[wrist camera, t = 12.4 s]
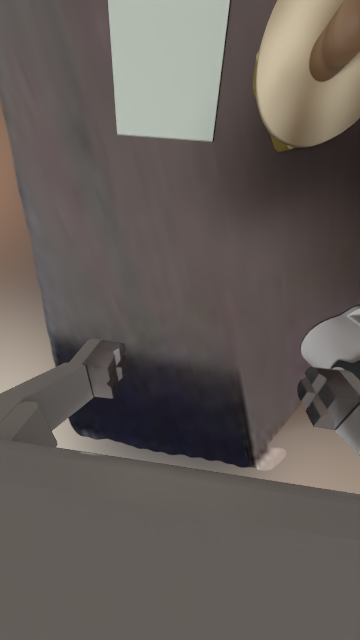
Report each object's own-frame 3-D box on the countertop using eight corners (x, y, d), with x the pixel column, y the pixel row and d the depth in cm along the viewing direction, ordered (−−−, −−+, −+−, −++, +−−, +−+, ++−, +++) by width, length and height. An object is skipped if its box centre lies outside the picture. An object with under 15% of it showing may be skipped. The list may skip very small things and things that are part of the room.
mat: (229, 0, 22) (230, -4, 21) (212, 142, 28) (212, 141, 27) (109, -5, 22) (107, -9, 22) (118, 135, 29) (117, 134, 28)
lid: (443, -61, 14) (560, -191, 10) (355, 150, 20) (400, 135, 16) (278, -61, 15) (313, -183, 10) (242, 144, 21) (253, 127, 16)
